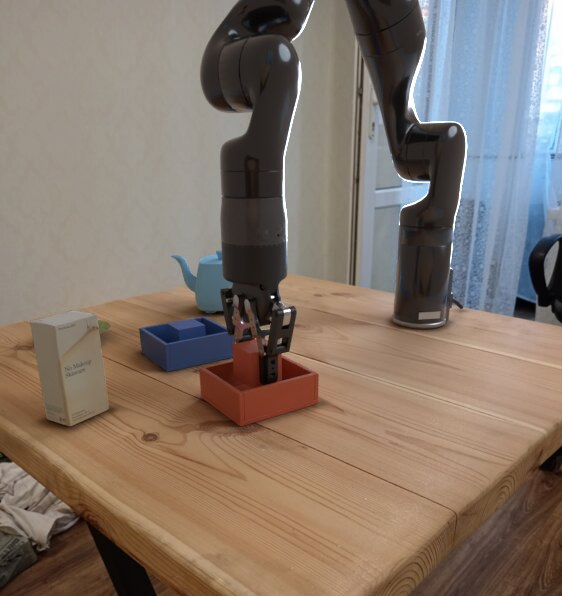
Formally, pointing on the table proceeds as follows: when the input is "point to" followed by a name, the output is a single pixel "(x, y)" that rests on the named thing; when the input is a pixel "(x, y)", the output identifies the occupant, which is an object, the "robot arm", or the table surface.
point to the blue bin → (186, 346)
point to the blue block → (185, 330)
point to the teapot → (206, 281)
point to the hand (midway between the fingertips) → (257, 376)
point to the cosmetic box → (70, 366)
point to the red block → (250, 363)
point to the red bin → (258, 392)
